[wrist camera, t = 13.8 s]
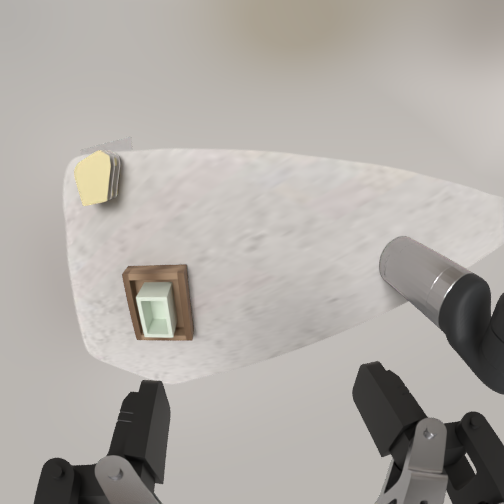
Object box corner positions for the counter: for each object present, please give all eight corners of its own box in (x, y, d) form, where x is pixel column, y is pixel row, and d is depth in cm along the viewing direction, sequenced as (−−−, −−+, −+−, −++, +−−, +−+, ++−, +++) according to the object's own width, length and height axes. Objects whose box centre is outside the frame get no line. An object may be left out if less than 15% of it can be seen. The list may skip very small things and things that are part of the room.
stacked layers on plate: (139, 202, 38) (127, 209, 33) (89, 211, 37) (73, 219, 32) (131, 136, 35) (118, 133, 30) (80, 150, 34) (62, 150, 29)
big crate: (186, 264, 42) (183, 272, 39) (193, 329, 46) (192, 340, 43) (128, 266, 41) (122, 274, 38) (141, 329, 45) (136, 339, 42)
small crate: (172, 281, 41) (166, 297, 37) (177, 319, 44) (173, 337, 39) (144, 282, 41) (135, 297, 36) (151, 319, 43) (144, 337, 39)
